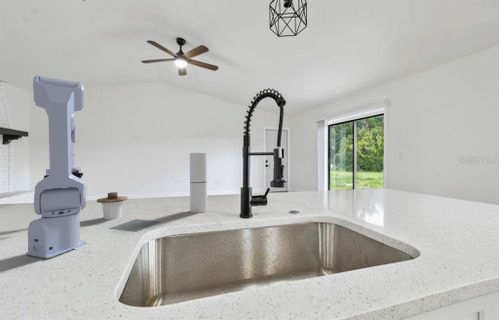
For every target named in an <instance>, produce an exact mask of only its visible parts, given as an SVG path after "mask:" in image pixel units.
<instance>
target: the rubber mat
mask: <svg viewBox="0 0 499 320" xmlns="http://www.w3.org/2000/svg"><path fill="white" fill-rule="evenodd" d="M159 223H161V221H158V220H149V219H138V218H136V219H135V218H134V219H132V220H129V221H126V222H124V223H121V224H118V225H115V226H112V227H109V229H110V230H111V229H112V230H116V231H117V230H118V231H124V232H125V231H126V232H136V233H137V232H139V231H142V230H144V229H147V228H149V227H151V226H154V225H156V224H159Z"/></svg>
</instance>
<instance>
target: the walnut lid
mask: <svg viewBox="0 0 499 320" xmlns="http://www.w3.org/2000/svg"><path fill="white" fill-rule="evenodd" d="M118 195H119V194H118V191H117V192H116V191H115V192H114V191H113V192H108V193H107V196H105V197H102V198H98V199H96V203H97V204H98V203H99V204H102V203H113V202H120V201H123V202H124V201H127V200H128V196H124V195H121V196H118Z"/></svg>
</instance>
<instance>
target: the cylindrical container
mask: <svg viewBox="0 0 499 320" xmlns="http://www.w3.org/2000/svg"><path fill="white" fill-rule="evenodd" d="M207 161H208V155H207V152H189V207H190V208H189V212H190V213H197V214H202V212H204V213H206V211H207V212H208V162H207Z"/></svg>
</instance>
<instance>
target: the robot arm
mask: <svg viewBox="0 0 499 320" xmlns="http://www.w3.org/2000/svg"><path fill="white" fill-rule="evenodd" d="M32 88H33V89H32V90H33V101H34V103H35V104H34V105H35V106H36V107H40V108H41V109H44V110H45V112H46V115H47V118H48V147H49V149H48V150H49V151H48V152H49V153H48V155H49V157H48V158H49V169H45V175H43V179H42V180H40V181H38V182H37V183H36V184H35V186H34V194H33V210H34V211H33V212H34V213H35V214H36V215H38V216H40V217H39V218H37V219H36V218H35V219H33V220H31V222H30V223H29V225H28V226H27V251H26V253H25V255H27V256H32V257H37V258H42V259H43V258H44V259H46V260H47V259H52V258H54V257H57V256H59V255H61V254H64V253H68V252H69V251H72V250H74V249H77V248H79V247H81V246H85V245H88V244H89V241H86V240H81V223H80V222H81V218H80V216H81V214H80V213H81V210H83V211H84V209H85V208H86V207H87V205H86V203H87V202H86V201H87V199H86V198H87V197H86V187H85V186H86V185H85V181H84V180H83V179H82V177H83V176H84V173H83V172H81V166H76V144H75V143H76V138H77V124H76V123H75V114H74V112H79V111H82V110H83V108H84V99H85V97H84V94H85V93H84V84H83V83H82V81H81V82H80V81H78V82H77V81H72V80H65V79H60V78H54V77H49V76H41V75H39V74H36V75H35V76H34V77H33V80H32Z"/></svg>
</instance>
